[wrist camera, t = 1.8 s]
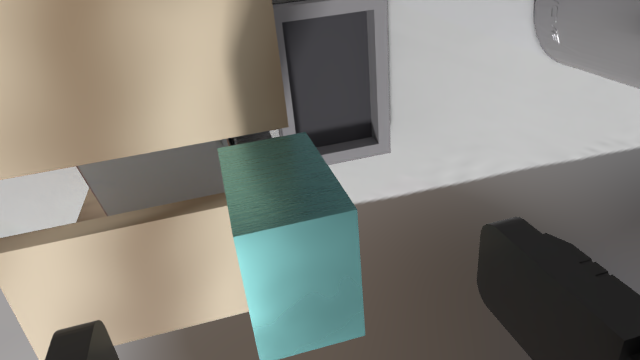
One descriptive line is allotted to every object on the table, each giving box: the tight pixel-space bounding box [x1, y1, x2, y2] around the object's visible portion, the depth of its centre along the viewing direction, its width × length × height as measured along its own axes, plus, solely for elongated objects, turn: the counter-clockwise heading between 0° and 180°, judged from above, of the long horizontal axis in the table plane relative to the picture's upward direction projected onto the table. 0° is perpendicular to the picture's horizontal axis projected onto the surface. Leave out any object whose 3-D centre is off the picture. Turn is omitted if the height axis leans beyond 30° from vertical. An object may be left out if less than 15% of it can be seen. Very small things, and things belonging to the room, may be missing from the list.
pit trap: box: [273, 0, 391, 165], centre depth 29 cm, size 7×10×2 cm
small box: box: [76, 138, 233, 216], centre depth 22 cm, size 8×6×10 cm
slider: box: [217, 131, 365, 360], centre depth 19 cm, size 2×9×20 cm, turn 5°
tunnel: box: [0, 0, 289, 360], centre depth 21 cm, size 10×12×14 cm
